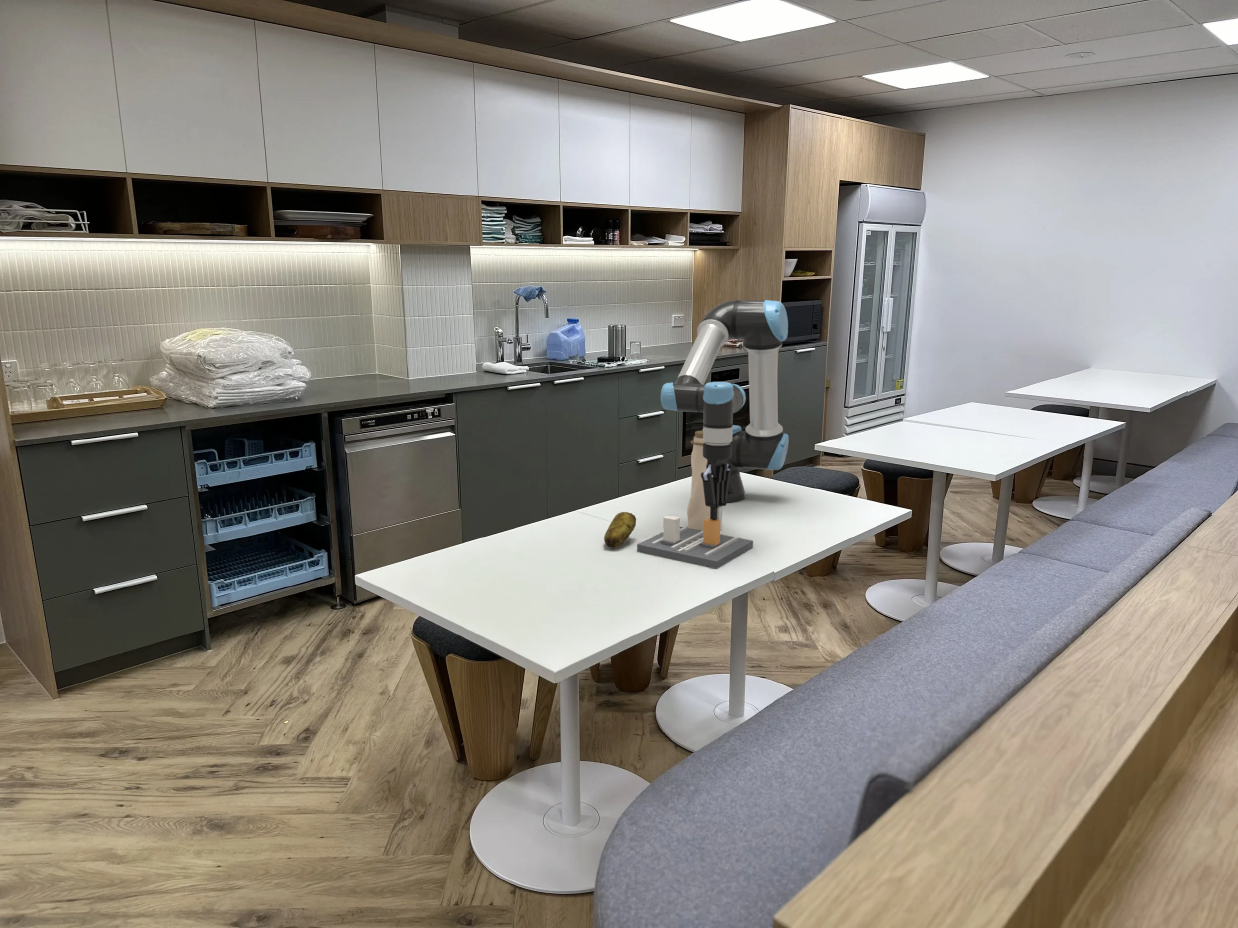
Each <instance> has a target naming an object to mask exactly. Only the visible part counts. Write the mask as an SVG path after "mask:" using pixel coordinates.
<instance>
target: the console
mask: <svg viewBox="0 0 1238 928" xmlns="http://www.w3.org/2000/svg"><path fill="white" fill-rule="evenodd" d="M703 538H704V530H703V531H701V530H696V529H691V528H689V527H688V526H680V539H682V541H681V542H679V543H677V544H675V545H673V546H671V545H666V544H661V540H663V532H660V533H657V534H656V535H654V536H652V537H650V538H647V539H646V540H643V541H641V542H639V543H637V545H636V552H638V553H641V554H646V555H652V556H656V557H660V558H664V559H669V560H674V561H679V562H683V563H689V564H691V565H697V566H701V567H706V568H711V569H715V570H717V569H719V568H721V567H723V566H724V565H726V564H727V563H729V562H731V561H733V560H734V559H736V558H738V557H741V555H743V554H745V553H747V552H748V551H750V550H752V549H753V548H754V540H752V539H748V538H747V539H746V538H741V537H738V536H730V535H726V534H722V533H720V542H722V545H720V546H718V547H716V548H714V549H711V548H707V547H702V546H701V543H703Z"/></svg>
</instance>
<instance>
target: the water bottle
mask: <svg viewBox="0 0 1238 928" xmlns="http://www.w3.org/2000/svg"><path fill="white" fill-rule="evenodd" d="M704 443H705V442H704V441H703V430H697V431H695V432H694V436H693V439H692V440H690V444H691V445H692V446H693V447H692V452H691V456H690V461H691V463H690V465H691V488H690V498H689V502H688V505H687V509H686V517H687V523H688V528H691V529H696V530H701V531H703V530H704V520H705V519H707V518H710V507H709V506H706V505H705V497H704V488H703V480H702V478H701V473H702V472H703V473H705V472H706V470H707V469H706V465H707V459H706V458H704V457H703V444H704Z"/></svg>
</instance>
